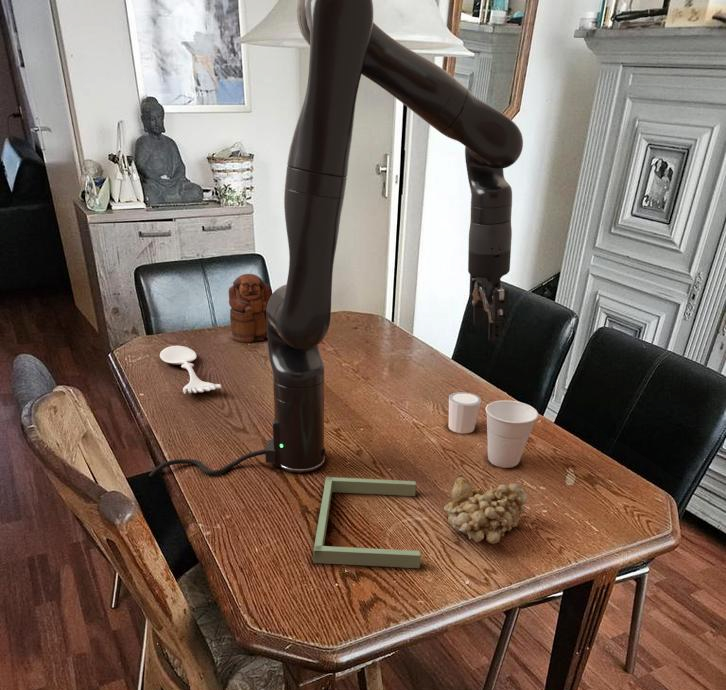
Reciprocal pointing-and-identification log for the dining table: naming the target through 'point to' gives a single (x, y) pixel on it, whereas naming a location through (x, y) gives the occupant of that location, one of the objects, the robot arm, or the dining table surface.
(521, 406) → the cup
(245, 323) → the wooden figurine
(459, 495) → the mineral formation
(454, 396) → the white short cylinder
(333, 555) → the frame
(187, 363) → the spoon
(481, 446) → the dining table surface
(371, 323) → the dining table surface
